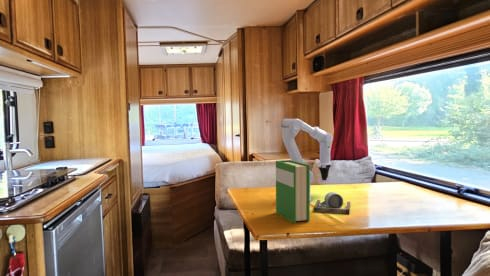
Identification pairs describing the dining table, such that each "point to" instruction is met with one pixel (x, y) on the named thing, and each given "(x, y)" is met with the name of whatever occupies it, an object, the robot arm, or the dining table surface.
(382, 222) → the dining table surface
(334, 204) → the ceramic mug
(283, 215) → the hardback book
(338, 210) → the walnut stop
